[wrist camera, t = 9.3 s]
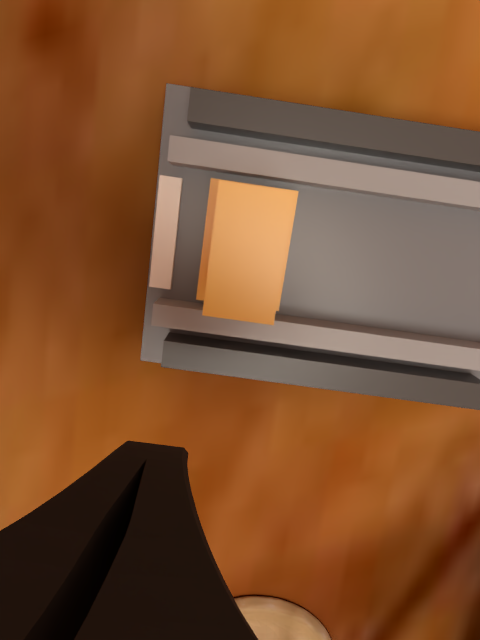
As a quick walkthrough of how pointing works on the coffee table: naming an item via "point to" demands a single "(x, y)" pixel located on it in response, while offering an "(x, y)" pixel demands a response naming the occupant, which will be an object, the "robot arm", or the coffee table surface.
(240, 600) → the hand bell
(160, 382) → the coffee table surface
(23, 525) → the robot arm
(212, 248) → the breaker lever
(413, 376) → the breaker panel
